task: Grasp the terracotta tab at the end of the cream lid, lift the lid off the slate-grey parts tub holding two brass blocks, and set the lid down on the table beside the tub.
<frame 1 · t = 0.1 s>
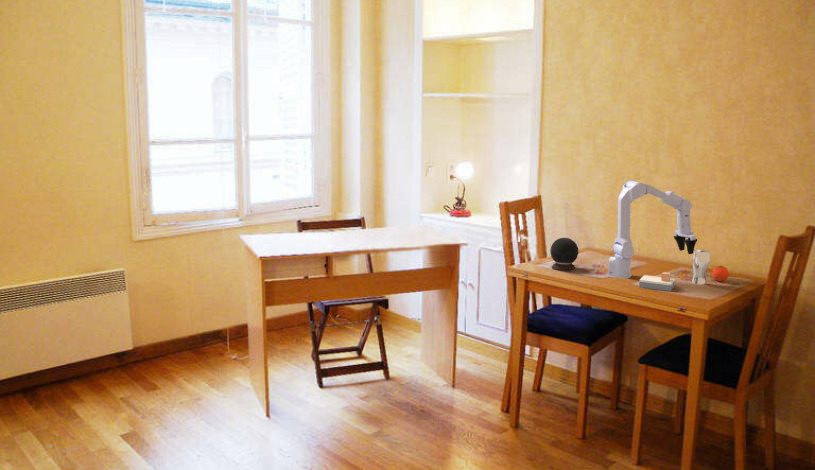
hand: (686, 252, 350), 11 cm above the table, tool pointing down, fingers open, 7 cm apart
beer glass: (699, 284, 335), on the table
brass block A: (650, 285, 329), resting on tub
clementine: (718, 281, 340), on the table
black ball on stand: (563, 268, 361), on the table
lid: (657, 281, 327), point 3 cm above the table, touching tub
tub: (656, 287, 327), on the table
brass block B: (662, 287, 326), resting on tub
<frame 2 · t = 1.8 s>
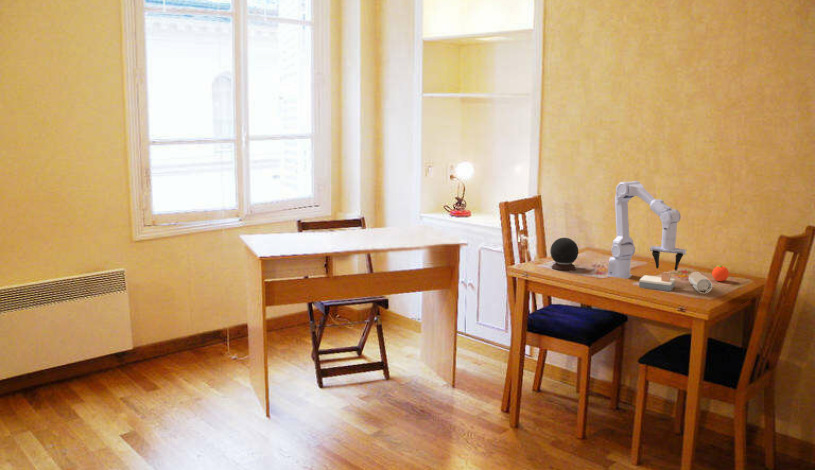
hand: (666, 269, 324), 9 cm above the table, tool pointing down, fingers open, 7 cm apart
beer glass: (695, 278, 332), point 3 cm above the table
everything else where it was.
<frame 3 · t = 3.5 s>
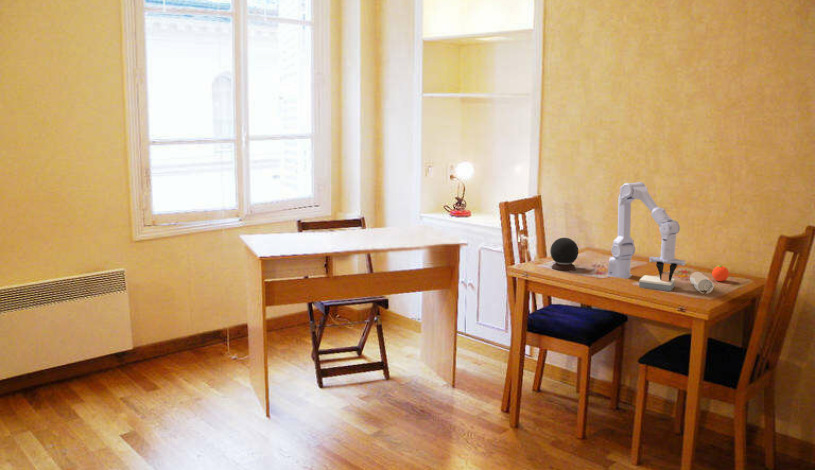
hand: (665, 279, 325), 4 cm above the table, tool pointing down, fingers closed on lid, 3 cm apart
lid: (657, 281, 327), point 3 cm above the table, touching gripper, tub
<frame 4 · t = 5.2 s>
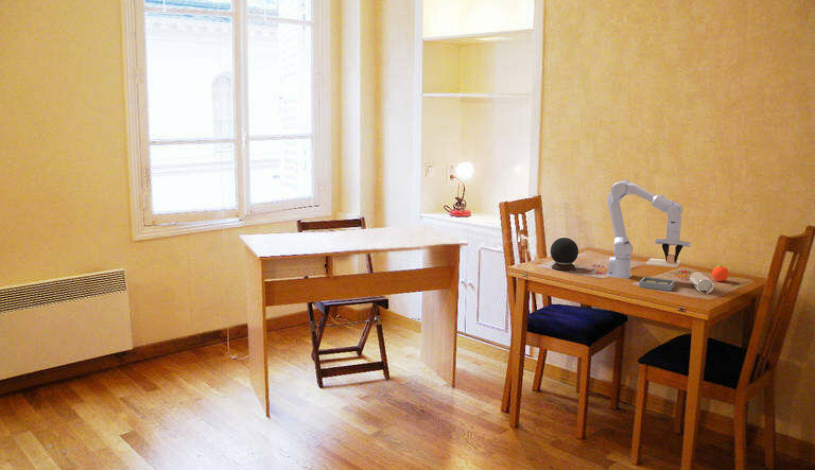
hand: (671, 261, 333), 10 cm above the table, tool pointing down, fingers closed on lid, 3 cm apart
lid: (662, 263, 335), point 9 cm above the table, touching gripper
everything else where it was.
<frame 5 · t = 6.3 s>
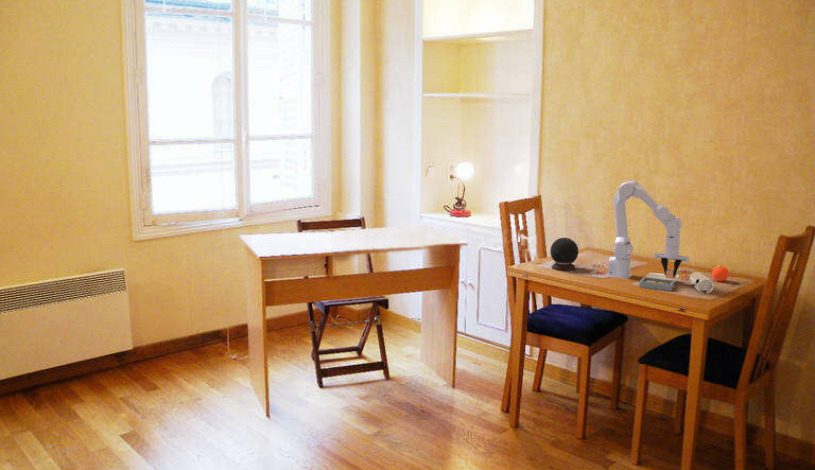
hand: (670, 275, 334), 4 cm above the table, tool pointing down, fingers closed on lid, 3 cm apart
lid: (661, 278, 336), point 2 cm above the table, touching gripper
everything else where it was.
when the fingers open (3 cm above the table, at t = 7.2 s): lid drops 2 cm, on the table.
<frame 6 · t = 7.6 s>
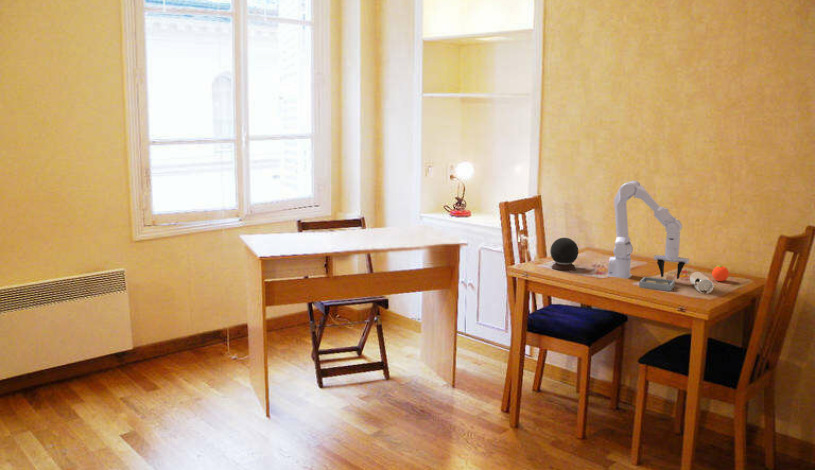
hand: (669, 277, 334), 3 cm above the table, tool pointing down, fingers open, 6 cm apart
lid: (661, 283, 336), on the table
everything else where it was.
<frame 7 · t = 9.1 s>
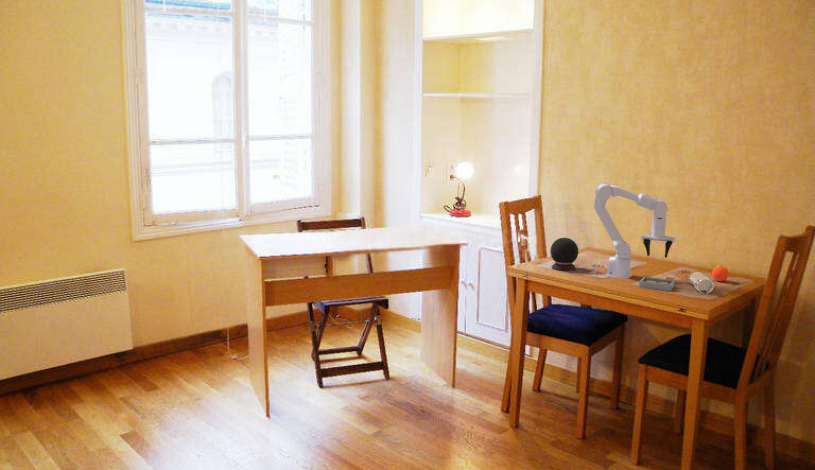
hand: (657, 256, 341), 10 cm above the table, tool pointing down, fingers open, 7 cm apart
nothing on the table moved.
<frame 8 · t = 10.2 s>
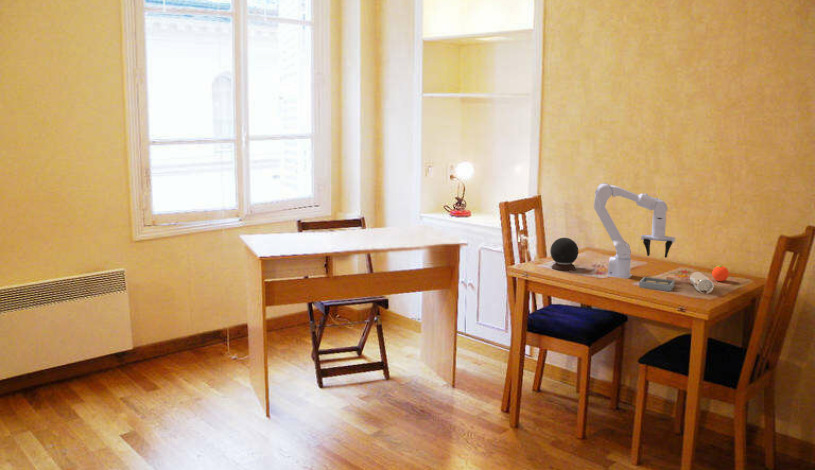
hand: (657, 256, 341), 10 cm above the table, tool pointing down, fingers open, 7 cm apart
nothing on the table moved.
at the end: lid inside the target area (0.7 cm from its centre), on the table; lid tilted 0°; lid touching table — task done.
